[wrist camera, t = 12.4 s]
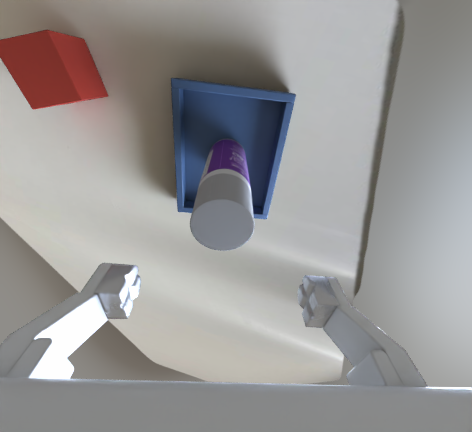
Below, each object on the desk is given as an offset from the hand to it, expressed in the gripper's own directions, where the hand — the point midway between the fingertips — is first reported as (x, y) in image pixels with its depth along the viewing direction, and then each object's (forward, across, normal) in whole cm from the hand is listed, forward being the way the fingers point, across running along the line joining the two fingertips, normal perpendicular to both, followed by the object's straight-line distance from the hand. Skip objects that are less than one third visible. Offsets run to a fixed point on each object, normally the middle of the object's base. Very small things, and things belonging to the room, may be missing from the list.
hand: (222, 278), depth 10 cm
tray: (+20, 0, 0) cm, 20 cm away
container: (+20, 0, +1) cm, 20 cm away
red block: (+20, +17, -7) cm, 27 cm away
